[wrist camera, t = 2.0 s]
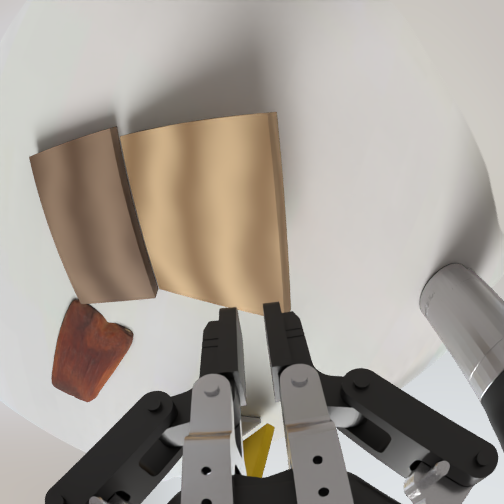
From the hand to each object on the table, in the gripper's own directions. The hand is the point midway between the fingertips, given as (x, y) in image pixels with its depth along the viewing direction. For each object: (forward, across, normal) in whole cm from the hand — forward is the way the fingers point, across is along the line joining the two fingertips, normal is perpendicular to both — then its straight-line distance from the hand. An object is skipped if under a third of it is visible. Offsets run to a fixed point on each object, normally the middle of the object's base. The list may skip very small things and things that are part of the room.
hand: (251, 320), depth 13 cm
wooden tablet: (+18, +28, +22) cm, 40 cm away
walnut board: (+17, +15, 0) cm, 23 cm away
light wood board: (+13, +3, 0) cm, 14 cm away
